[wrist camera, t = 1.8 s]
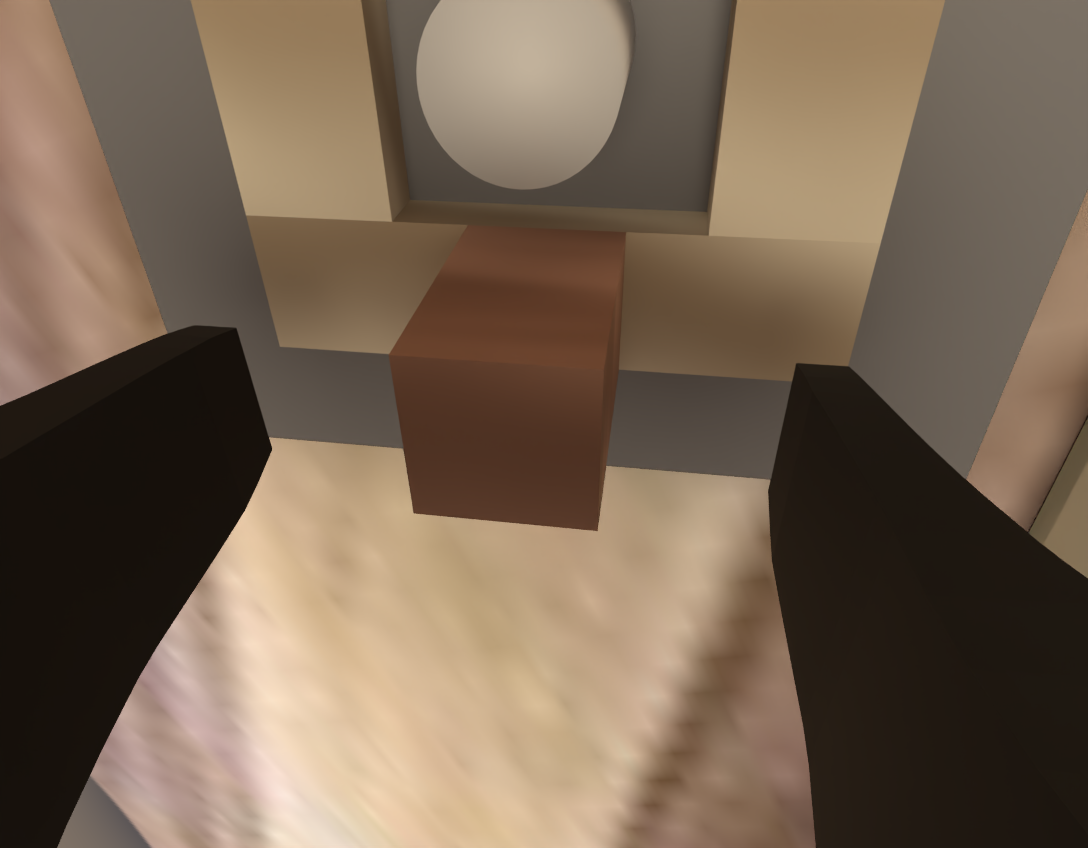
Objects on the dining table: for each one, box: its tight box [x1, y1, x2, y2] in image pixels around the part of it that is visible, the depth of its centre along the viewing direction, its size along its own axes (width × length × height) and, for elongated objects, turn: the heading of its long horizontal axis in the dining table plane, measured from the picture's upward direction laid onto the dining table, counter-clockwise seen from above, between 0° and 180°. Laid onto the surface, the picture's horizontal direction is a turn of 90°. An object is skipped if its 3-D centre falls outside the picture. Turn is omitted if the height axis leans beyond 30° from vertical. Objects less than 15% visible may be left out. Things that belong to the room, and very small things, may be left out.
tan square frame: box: [191, 0, 945, 531], centre depth 9 cm, size 10×10×5 cm
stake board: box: [49, 0, 1088, 479], centre depth 10 cm, size 16×16×4 cm
